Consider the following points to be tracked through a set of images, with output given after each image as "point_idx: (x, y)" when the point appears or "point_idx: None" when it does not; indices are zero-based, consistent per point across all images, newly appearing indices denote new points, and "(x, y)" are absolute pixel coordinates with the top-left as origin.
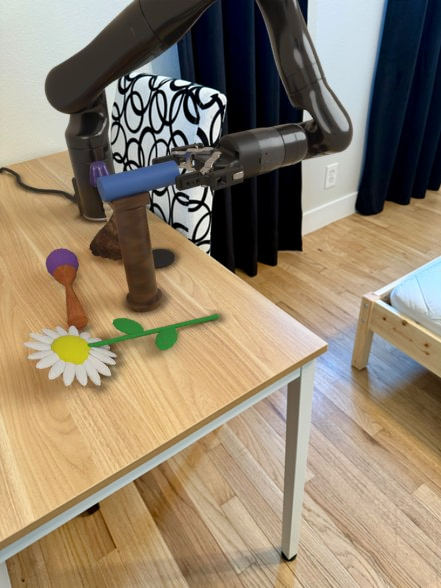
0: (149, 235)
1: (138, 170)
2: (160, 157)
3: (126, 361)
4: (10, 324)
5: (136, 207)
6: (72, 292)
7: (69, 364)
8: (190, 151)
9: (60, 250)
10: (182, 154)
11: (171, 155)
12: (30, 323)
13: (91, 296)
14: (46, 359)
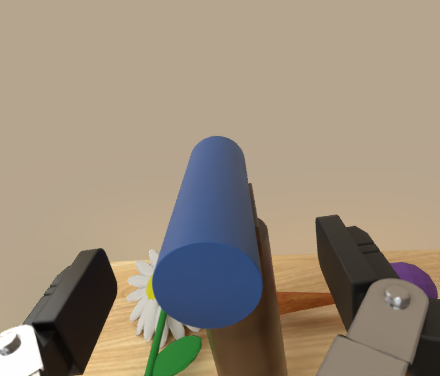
0: (218, 333)
1: (198, 171)
2: (339, 233)
3: (143, 357)
4: (295, 257)
5: None
6: (300, 298)
7: (146, 279)
8: (326, 361)
9: (405, 271)
10: (350, 327)
11: (354, 273)
12: (287, 272)
13: (322, 341)
14: (155, 256)
